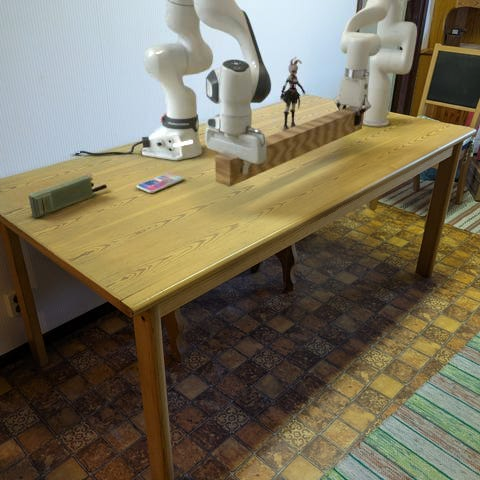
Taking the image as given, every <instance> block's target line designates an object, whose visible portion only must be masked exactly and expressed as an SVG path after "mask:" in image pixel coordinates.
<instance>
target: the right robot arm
mask: <svg viewBox="0 0 480 480" xmlns="http://www.w3.org/2000/svg"><path fill="white" fill-rule="evenodd" d="M400 1H401V2H403V1H404V2H405V1H407V2H409V1H410V0H367V1H366V4H365V6H364V7H363V8H362V9H360V10H359V11H358V12H356V13H355V14H354V15H353V16H352V17H350V18H349V20H347V22H346V25H345V27H344V30H343V32H342V35H341V38H340V46H339V48H340V50H341V52H342V53H343V54H346V59H345V66H344V67H345V68H344V75H343V76H342V78H341V81H340V85H339V90H338V94H337V96H335V97H334V98H333V99H332V100H333V102H334V104H335V105H336V107H337V109H338V110H341V109H344V108H346V107H349V106H353V107H356V112H357V115H355V122H354V126H357V125H359V124H360V123H361V117H362V114H363V113H364V118H363V125H364V126H368V127H375V128H376V127H378V128H380V127H386V126H389V124H390V121H389V120H388V119H387V116H389V115H390V112H389V110H388V108H389V102H390V96H391V95H390V94H391V90H392V81H391V78H390V77H389V75H388V74H395V75H407V74H409V73H410V71H411V69H412V65H413V61H414V56H415V55H414V54H415V50H416V45H417V44H416V43H417V37H418V26H417V25H416V23H414V22H412V21H402V20H401V15H402V4H401V2H400ZM374 24H377V27H376V28H377V29H376V33H371V32H370V33H368V32H358V31H359V30H360V29H362V28H365V27H367V26H371V25H374ZM382 46H387V47H388V46H389V47H400V48H401V49H394V48H382ZM368 64H369V71H368ZM368 77H369V78H368ZM363 106H364V107H363Z"/></svg>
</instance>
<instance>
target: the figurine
mask: <svg viewBox="0 0 480 480" xmlns="http://www.w3.org/2000/svg"><path fill="white" fill-rule="evenodd" d="M293 61H294V62H293ZM298 63H299V64H301V65H302V64H303V62H302V61H301V60H300V59H298V58H297V56H295V57H294V58H292V59H290V60H289V65H288V68H287V69H288V72H289V75H288V76H287V78H286V79H285V82H284V84H283V86H282V88H281V91H280V92H281V93H280V96H279V99H280V101H281V102H282V101H283V102H284V103H285V110H284V111H283V114H284V124H283V130H286V129H289V128H292V127H295V126H297V124H295V113H296V106H298V107H297V109H298V110H299V109H300V106H301V97H300V96H301V93H299V92H298V88H299V89H300V90H301V92H302V95H306V91H305V89H304V88H303V85H301V83H300V82H299V79H298V76H297V74H298V69H299V66H298ZM287 85H289V87H288V88H286V87H287ZM297 86H298V88H297ZM286 89H287V90H286ZM296 104H297V105H296ZM290 108H291V109H290ZM290 113H291V123H290V127H289V126H288V117H289V115H290Z"/></svg>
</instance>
